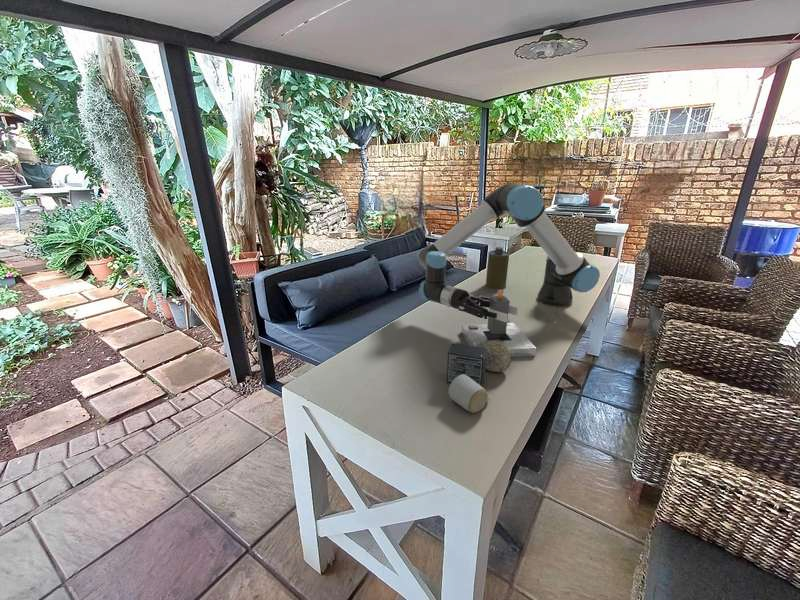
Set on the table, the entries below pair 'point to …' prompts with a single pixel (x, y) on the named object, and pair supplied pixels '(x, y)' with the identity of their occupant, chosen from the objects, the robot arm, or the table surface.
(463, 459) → the table surface
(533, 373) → the table surface
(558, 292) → the robot arm
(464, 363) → the small box
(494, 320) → the plug
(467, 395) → the white short cylinder
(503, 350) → the stone
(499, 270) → the canister
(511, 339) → the socket
